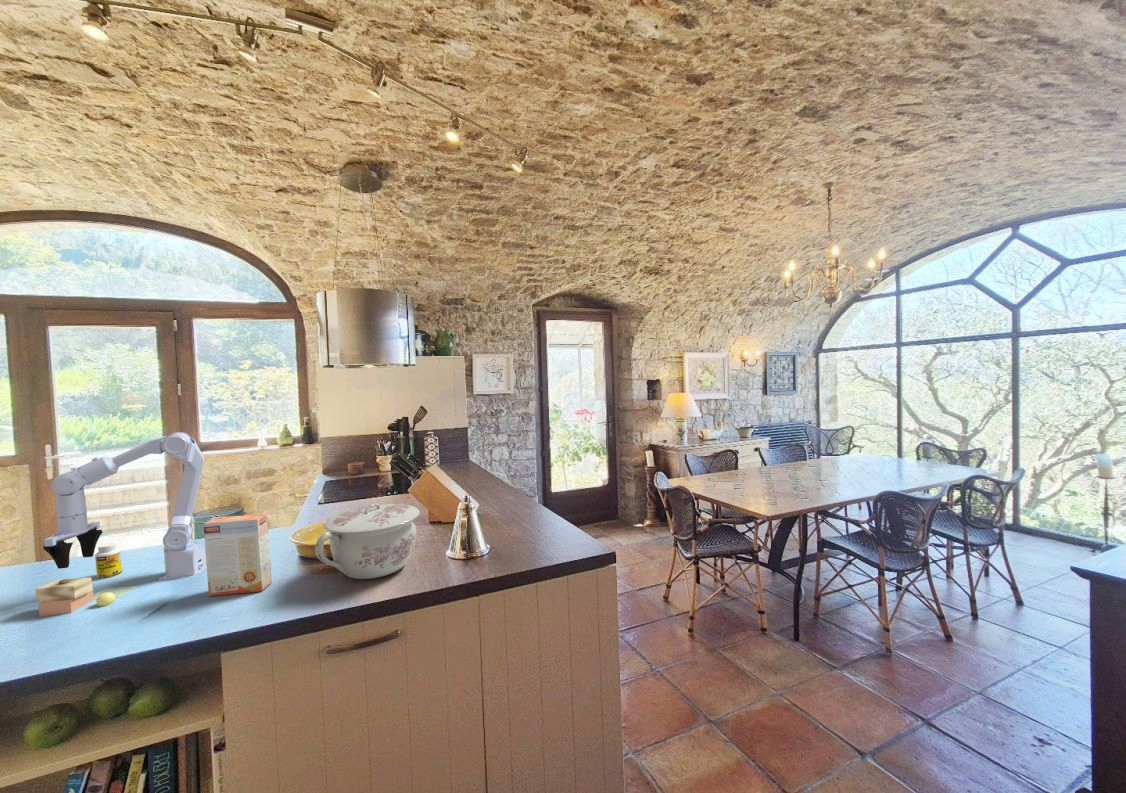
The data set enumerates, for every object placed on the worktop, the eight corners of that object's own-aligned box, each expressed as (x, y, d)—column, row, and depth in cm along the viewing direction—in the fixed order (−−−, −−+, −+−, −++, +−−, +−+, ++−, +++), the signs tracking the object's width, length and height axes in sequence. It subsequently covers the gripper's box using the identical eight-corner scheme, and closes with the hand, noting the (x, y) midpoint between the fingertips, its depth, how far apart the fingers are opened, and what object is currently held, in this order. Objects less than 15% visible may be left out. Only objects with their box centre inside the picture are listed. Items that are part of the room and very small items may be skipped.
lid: (92, 589, 124) (91, 575, 124) (75, 598, 119) (73, 583, 119) (55, 592, 123) (54, 577, 123) (36, 601, 118) (35, 586, 118)
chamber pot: (422, 547, 158) (419, 488, 157) (423, 581, 132) (419, 510, 131) (332, 560, 150) (329, 497, 149) (315, 598, 123) (310, 523, 122)
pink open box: (93, 601, 126) (92, 587, 125) (71, 614, 119) (70, 599, 119) (63, 605, 124) (62, 590, 124) (39, 618, 118) (38, 603, 117)
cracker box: (272, 582, 134) (268, 512, 133) (262, 592, 128) (257, 519, 127) (221, 587, 132) (216, 516, 131) (207, 597, 126) (202, 522, 125)
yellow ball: (119, 602, 125) (118, 589, 125) (108, 608, 121) (107, 595, 121) (104, 603, 125) (103, 590, 124) (93, 610, 121) (91, 596, 121)
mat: (139, 587, 133) (139, 585, 133) (119, 599, 127) (119, 597, 127) (104, 590, 132) (104, 588, 132) (82, 602, 125) (82, 600, 125)
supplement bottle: (94, 582, 138) (91, 549, 137) (101, 576, 143) (98, 544, 142) (119, 578, 141) (116, 545, 140) (125, 571, 146) (122, 540, 145)
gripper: (79, 508, 135) (83, 553, 135) (29, 524, 120) (33, 574, 121) (106, 506, 136) (110, 551, 136) (59, 522, 121) (64, 572, 122)
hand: (76, 562), depth 129 cm, fingers open, 7 cm apart
